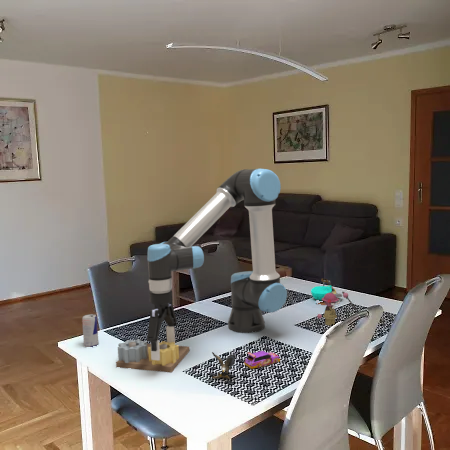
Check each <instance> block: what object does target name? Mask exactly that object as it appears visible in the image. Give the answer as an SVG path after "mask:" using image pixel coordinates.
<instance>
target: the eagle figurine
mask: <svg viewBox="0 0 450 450" xmlns="http://www.w3.org/2000/svg"><path fill="white" fill-rule="evenodd" d="M211 353H212V356H213V357H215V359H217V360H218V364H219V366H220V367H221V372H217V375H215V376H212V378H213V379H216V378H217V379H220V378H225V379H228V380H230V379H231V378H230V376H229V370H230V371H231V370H232V368H231V367H233V366H234V365H235V361H236V359H237V358H236V357H237V356H236V355H235V354H232V353H231V354H229V355H228V356H227V357H226V358H225V362H223V360H222V359H221V357H220V356H218V355H217V354H216V353H215V352H213V351H212V352H211Z"/></svg>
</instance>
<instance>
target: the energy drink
mask: <svg viewBox="0 0 450 450" xmlns="http://www.w3.org/2000/svg"><path fill="white" fill-rule="evenodd" d="M81 322H82V337H83V347H84V346H85V347H84V348H86V347H92V348H94V347H93V346H96V347H98V346H99V344H100V343H99V330H98V329H99V328H98V327H99V326H98V317H97V315H96V314H93V313H91V314H85V315H83V316H82V318H81ZM97 345H98V346H97Z"/></svg>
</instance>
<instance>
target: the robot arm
mask: <svg viewBox="0 0 450 450" xmlns="http://www.w3.org/2000/svg"><path fill="white" fill-rule="evenodd" d="M281 185H282V184H281V180H280V178H279V176H278V175H277V174H276V173H275V172H274V171H273V170H270V169H266V168H253V169H249V168H247V169H239V170H238V171H235V172H234V173H233V174H231V175H230V176H229V177H228V178H227V179H226V180H224V182H222V183H221V184H220V185H219V186H218V187H217V188H216V193H215V194H214V195H213V196H212V197H211V198H210V199H209V200H208V201H207V202H206V203H205V204H204V205H203V206H202V207H201V208H200V209H199V210H198V211H196V213H195V214H194V215H193V216H191V218H190V219H189V220H188V221H187V222H186V223H185V224H184V225H183V226H182V227H181V228H180V229H178V231H177V232H176V233H174V235H173V236H172V237H170V239H168V241H163V242H161V243H155V244H154V243H153V244H152V245H149V246H148V247H147V259H146V260H147V267H148V268H147V269H148V270H147V271H148V281H147V283H148V286H149V303H150V304H152V305H154V309H150V310H149V322H148V329H147V337H146V342H150V344H151V360H160V349H159V343H160V340H159V337H160V331H161V327H162V323H163V322H164V321H165V323H166V330H165V331H166V342H169V343H171V342H175V343H176V337H175V336H176V335H175V333H176V332H175V327H177V326H178V323H177V322H178V319H177V317H176V313H175V310H174V309H175V308H174V305H173V291H172V289H173V281H172V279H173V278H172V272H177V271H186V270H191V269H193V270H194V269H199V268H201V267H202V266H203V264H204V262H205V255H204V251H203V249H202V248H201V247H200V246H198V245H195V243H196V242H197V241H198V240H199V239H200V238H201V237H202V236H203V235H204V234H205V233H206V232H207V231H208V230H209V229H210V228H211V227H212V226H213V225H214V224H215V223H216V222H217V221H218V220H219V219H220V218H221V217H222V216H223V215H224V214H225V213H226V211H228V210H229V208H233V207H235V206H236V205H238V204H239V203H240V202H241V201H243V205H244V207H245V208H246V209H247V210H248V215H249V216H248V218H249V231H250V232H249V233H250V246H251V248H250V249H251V261H252V262H251V263H252V270H248V271H240V272H235V273H232V275H231V276H230V291H231V292H230V293H231V297H230V298H231V311H230V315H229V317H228V322H227V325H228V328H227V329H228V330H230V331H232V332H234V333H238V334H241V333H242V334H252V333H257V332H260V331H262V330H264V329H265V327H266V325H265V324H266V323H265V318H264V316H263V312H265V313H271V314H272V313H275V312H277V311H279V310H281V308H283V306H284V305H285V303H286V301H287V297H288V291H287V288H286V287H285V286H284V285H283V284H282V283H281V275H280V273H278V271H276V258H275V257H276V256H275V244H274V243H275V241H274V227H273V226H274V225H273V208H274V207H275V206H276V199H277V198H278V197H279V194H280V193H281V188H282V186H281ZM193 245H195V246H193Z"/></svg>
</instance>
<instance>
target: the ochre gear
mask: <svg viewBox="0 0 450 450" xmlns="http://www.w3.org/2000/svg"><path fill="white" fill-rule="evenodd" d="M161 344H167V349H160V345H161ZM178 346H179V344H176V341H175V342H171V343H169V342H167V341H165V340H163V341H161V342H159V349H160V360H151V347H148V352H149V361H152V364H153V365H155V364H162V366H163V365H166V364H168V363H175V362H176V359H179V348H178Z"/></svg>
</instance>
